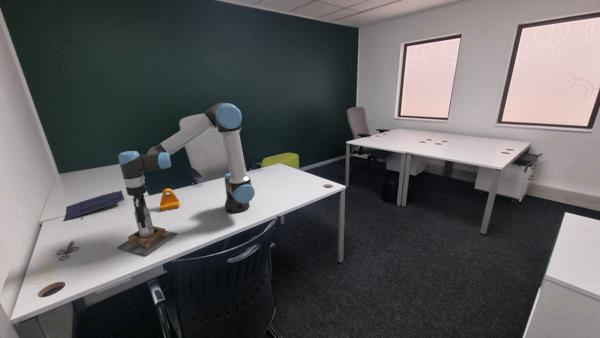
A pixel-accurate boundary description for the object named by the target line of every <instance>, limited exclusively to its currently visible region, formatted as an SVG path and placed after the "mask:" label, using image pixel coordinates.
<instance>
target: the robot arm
mask: <svg viewBox="0 0 600 338" xmlns="http://www.w3.org/2000/svg"><path fill="white" fill-rule="evenodd" d="M242 118H243V117H242V112H241V110H240V109H239V108H238V107H237V106H236V105H234V104H232V103H229V102H227V103H226V102H218V103H216V104H215V105H213V106H212V107H210V108H209V109H207V111H204V112H203V113H202V116H201V117H199V118H198V119H196V120H195V121H193V122H191V123H190V124H188V125H187V126H185V127H184V128H182V129H181V130H179V131H178V132H176V133H174V134H172V136H171V135H170V137H168V138H167V139H165V140H163V141H162V142H160V143H159V144H157V145H156V146H152V147H150V148H149V149H148V151H147V154H140V153H139V152H138V151H136V150H129V151H124V152H123V151H122V152H121V153H119V154H118V161H119V167H120V170H121V173H122V178H123V182H124V186H125V190H126V194H127V195H128V196H131V197H133V198H132V202H133V206H134V211H135V210H136V215H137V219H138V221H137V222H136V224H137V223H140V227H141V231H142V234H144V233H149V230H148V226H147V221H146V219H145V215H144V209H143V206H147V203H146V200H145V195H144V194H146V192H147V186H146V185H147V184H145V183H146V182H145V180H146V177H145V176H144V173H143V172H148V171H149V172H150V171H157V170H164V169H169V168H171V167H172V162H171V155H173V154H175V153H177V152H178V151H179V150H181V149H182V148H184V147H185V146H187V145H188V144H190V143H191V142H193V141H194V140H196V139H197V138H199V137H201V136H203V135H204V134H205V133H207V132H208V131H209V130H213V129H216V128H217V132H218V134H221V136H222V141H223V144H224V145H223V146H224V149H225V154H226V160H227V164H228V169H229V172H228V173H226V174H224V186H225V195H226V198H225V203H224V210H225V211H226V212H228V213H231V214H238V213H243V212H245V211H247V210H249V208H250V202H251V201H252V200H253V198H254V196H255V195H256V190H255V188H254V186H253V185H252V181H251V180H252V179H251V176H250V175H249V174H247V169H246V163H245V158H244V153H243V151H244V150H243V147H242V142H241V136H240V132H241V130H242V127H241V126H242V124H241V122H242V120H243V119H242Z"/></svg>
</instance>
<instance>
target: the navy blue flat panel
mask: <svg viewBox="0 0 600 338" xmlns="http://www.w3.org/2000/svg"><path fill="white" fill-rule="evenodd" d="M122 201H125V198H124V195H123V191H122V190H119V191H113V192H110V193H106V194H101V195H98V196H95V197H91V198H89V199H85V200H82V201H79V202H77V203H73V204H71V205H68V206H66V211H65V216H64V219H63V221H64V222H65V221H68V220H72V219H74V218H78V217H80V216H82V215H86V214H88V213H92V212H94V211H97V210H100V209H103V208H107V207H110V206H113V205H115V204H118V203H119V202H122Z"/></svg>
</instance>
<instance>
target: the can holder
mask: <svg viewBox="0 0 600 338" xmlns="http://www.w3.org/2000/svg"><path fill="white" fill-rule="evenodd" d="M153 229H154V233H153V234H152V235H151V236H149V237H147V238H142V237H140V234H139V230H138V231H136V232H134V233H132V234H131V235H129V236H127V240H126V241H125V242H122V244H120V245H118V246H117V249H118V250H121V251H124V252H125V251H126V252H129V253H133V254H136V255H140V256H143V257H147V256H149V255H151V254H152V253H153V252H155V251H156V250H158V249H159V248H161V247H162V246H163V245H164V244H165V245H166V243H168V242H169V241H171V240H172V239H174V238H175V237H177V235H178V233H177V232H173V231H170V230H166V228H164V227H160V226H155V225H153Z"/></svg>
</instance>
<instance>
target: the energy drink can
mask: <svg viewBox="0 0 600 338" xmlns="http://www.w3.org/2000/svg"><path fill="white" fill-rule="evenodd" d="M143 209H144V215H145V219H146V221H147V226H148V230H149V233H144V234H142V231H141V227H140V223H137V221H138V219H137V215H136V210H135V209H134V212H133V214H134V219H135V222H136V226H137V229H138V231H139V234H140V237H142V238H147V237H149V236H151V235H152V234H153V233H154V229H153V226H154V225H153V221H152V217H151V213H150V211H151V210H150V209H149V207H148V206H147V205H146V206H143Z"/></svg>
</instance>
